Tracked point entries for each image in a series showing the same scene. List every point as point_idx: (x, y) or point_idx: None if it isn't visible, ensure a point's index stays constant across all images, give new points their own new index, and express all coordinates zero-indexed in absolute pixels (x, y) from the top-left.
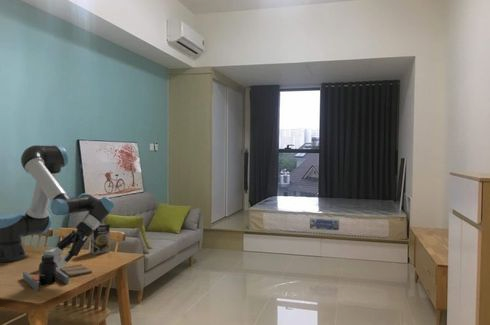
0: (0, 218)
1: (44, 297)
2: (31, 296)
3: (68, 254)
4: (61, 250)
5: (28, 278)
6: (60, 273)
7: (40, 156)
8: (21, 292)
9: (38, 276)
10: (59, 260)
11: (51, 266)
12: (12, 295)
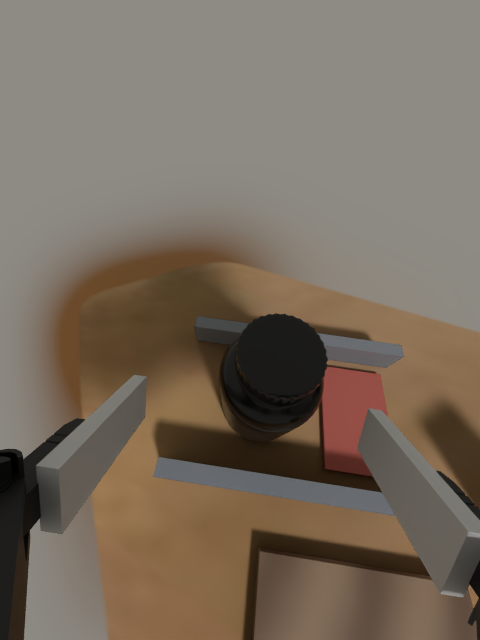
0: None
1: (106, 322)
2: (157, 301)
3: (47, 467)
4: (440, 578)
5: None
6: (258, 473)
7: None
8: (222, 297)
9: (368, 407)
10: None
11: (219, 377)
12: (217, 274)
